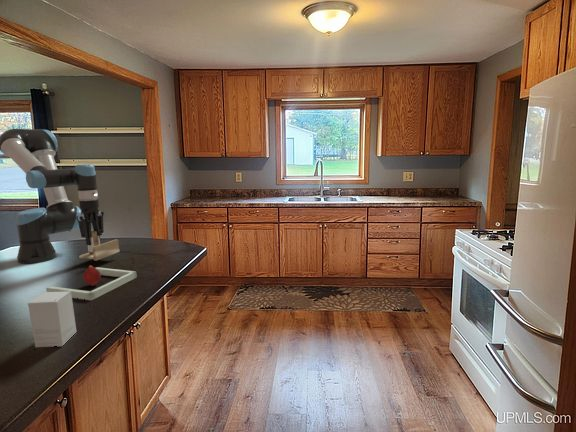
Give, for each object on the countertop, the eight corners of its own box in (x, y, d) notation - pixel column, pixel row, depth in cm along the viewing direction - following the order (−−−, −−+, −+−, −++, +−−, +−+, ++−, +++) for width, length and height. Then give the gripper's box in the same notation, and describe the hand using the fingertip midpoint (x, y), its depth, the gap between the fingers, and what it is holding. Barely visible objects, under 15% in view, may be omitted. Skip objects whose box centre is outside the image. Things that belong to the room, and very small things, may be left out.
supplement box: (77, 332, 102) (72, 290, 100) (62, 347, 95) (56, 302, 92) (50, 333, 102) (45, 291, 99) (33, 347, 95) (26, 302, 92)
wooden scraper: (75, 259, 160) (72, 235, 158) (100, 250, 173) (97, 228, 171) (96, 260, 157) (92, 235, 155) (119, 251, 170) (116, 228, 168)
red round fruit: (88, 282, 140) (86, 263, 138) (104, 282, 140) (102, 262, 139) (81, 288, 134) (78, 268, 133) (97, 288, 134) (95, 267, 133)
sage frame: (47, 294, 129) (46, 287, 129) (97, 273, 151) (96, 267, 150) (91, 300, 124) (90, 293, 123) (136, 277, 145) (136, 271, 145)
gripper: (80, 202, 152) (87, 256, 157) (109, 197, 167) (114, 246, 172) (66, 201, 154) (73, 254, 159) (96, 196, 169) (101, 245, 174)
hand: (94, 250), depth 165 cm, fingers closed on wooden scraper, 3 cm apart
